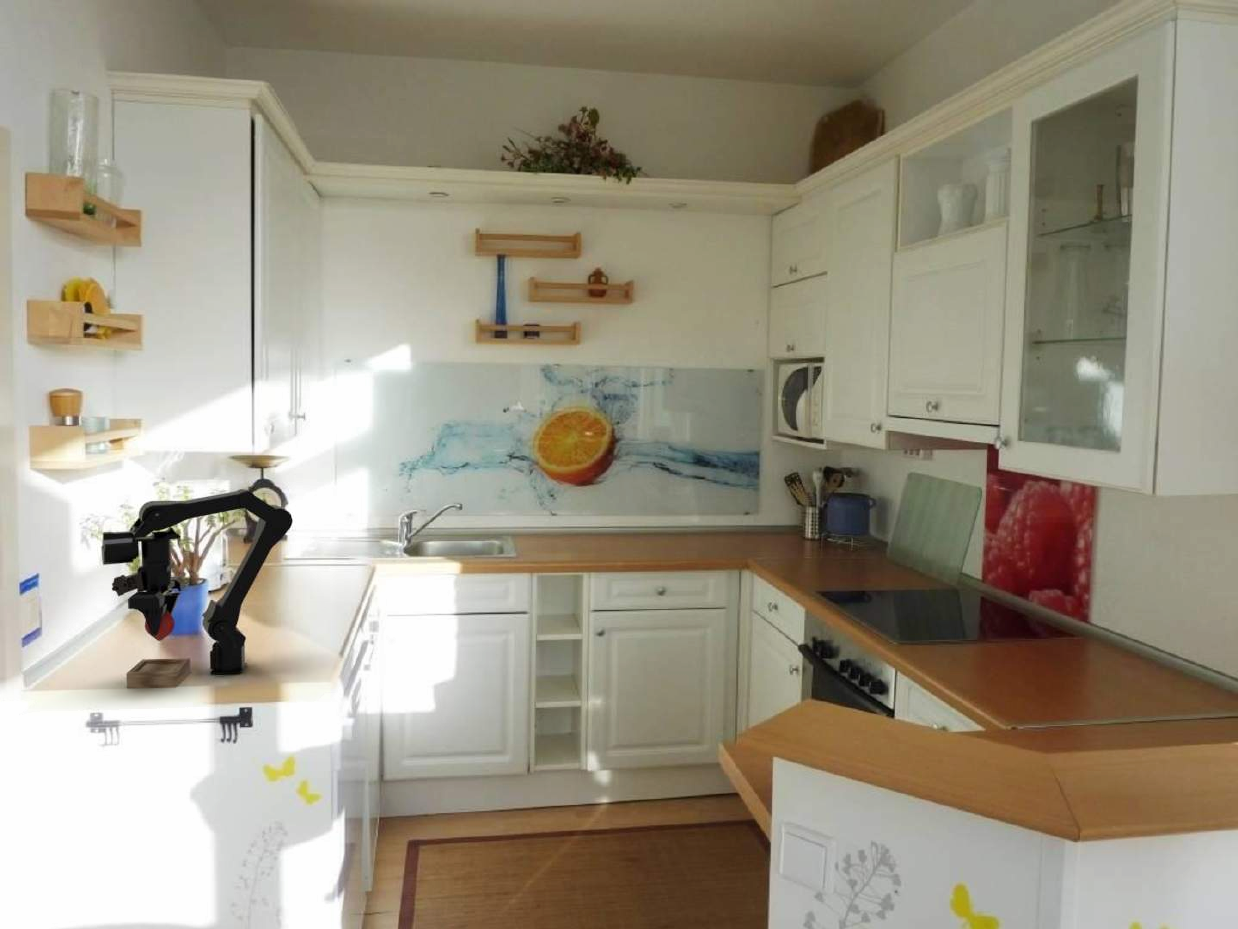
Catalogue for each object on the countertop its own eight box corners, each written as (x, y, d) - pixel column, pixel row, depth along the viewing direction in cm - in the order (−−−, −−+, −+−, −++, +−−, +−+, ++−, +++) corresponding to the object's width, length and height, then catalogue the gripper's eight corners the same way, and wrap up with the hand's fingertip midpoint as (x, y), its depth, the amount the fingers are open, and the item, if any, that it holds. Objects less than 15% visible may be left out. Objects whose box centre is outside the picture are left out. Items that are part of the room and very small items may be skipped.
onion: (179, 637, 215) (178, 601, 215) (168, 644, 210) (167, 607, 209) (152, 636, 215) (151, 601, 214) (140, 644, 209) (139, 607, 209)
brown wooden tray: (190, 672, 219) (190, 658, 219) (176, 687, 209) (176, 672, 209) (143, 673, 217) (142, 659, 217) (126, 688, 208) (126, 673, 207)
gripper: (131, 552, 219) (134, 621, 220) (99, 570, 200) (102, 644, 202) (184, 551, 220) (186, 620, 222) (157, 569, 202) (159, 643, 203)
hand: (158, 631), depth 212 cm, fingers closed on onion, 6 cm apart
